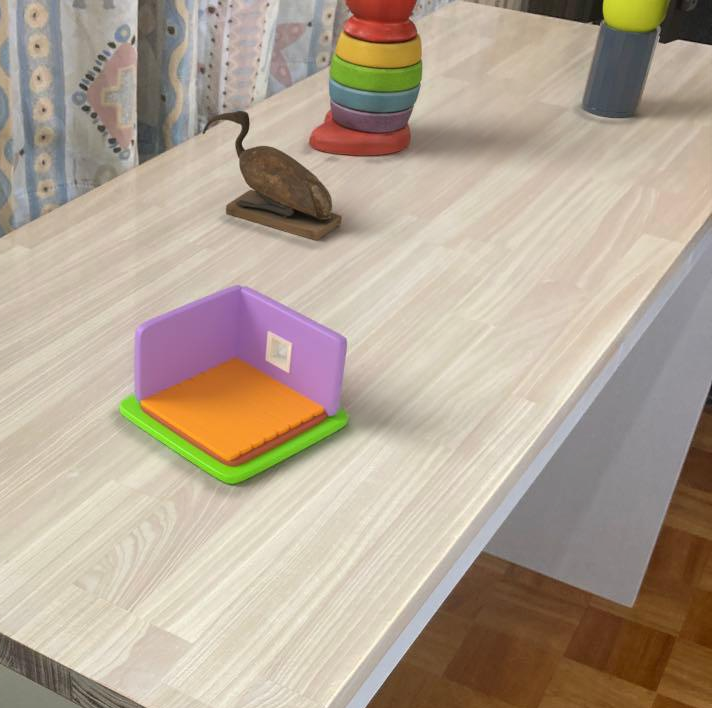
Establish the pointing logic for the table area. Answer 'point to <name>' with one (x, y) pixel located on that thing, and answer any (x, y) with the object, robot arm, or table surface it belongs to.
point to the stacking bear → (372, 80)
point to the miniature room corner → (236, 382)
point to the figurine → (279, 189)
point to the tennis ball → (635, 14)
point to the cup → (618, 71)
